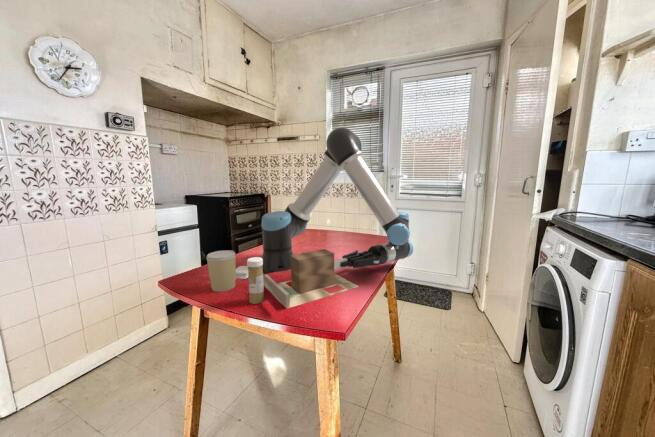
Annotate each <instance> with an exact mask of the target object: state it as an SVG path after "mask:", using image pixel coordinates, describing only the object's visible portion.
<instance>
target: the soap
mask: <svg viewBox="0 0 655 437" xmlns="http://www.w3.org/2000/svg"><path fill="white" fill-rule="evenodd" d="M248 277H249V275H248V266H247V265H240V266H238V267H236V274H235V280H238V279H240V280H247V278H248Z"/></svg>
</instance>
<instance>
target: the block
mask: <svg viewBox="0 0 655 437" xmlns="http://www.w3.org/2000/svg"><path fill="white" fill-rule="evenodd" d="M334 260H335V253H334V252H333V251H330V250H328V249H326V248H325V249H324V248H323V249H318V250H312V251H307V252H302V253H296V254H294V255H291V269H290V276H291V278H290V280H291V287H292V288H293V289H294V290H295V291H297V292H298V293H299V294H302V293H306V292H309V291H313V290H317V289H320V288H324V287H328V286H331V285H334V273H335V270H334Z"/></svg>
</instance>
